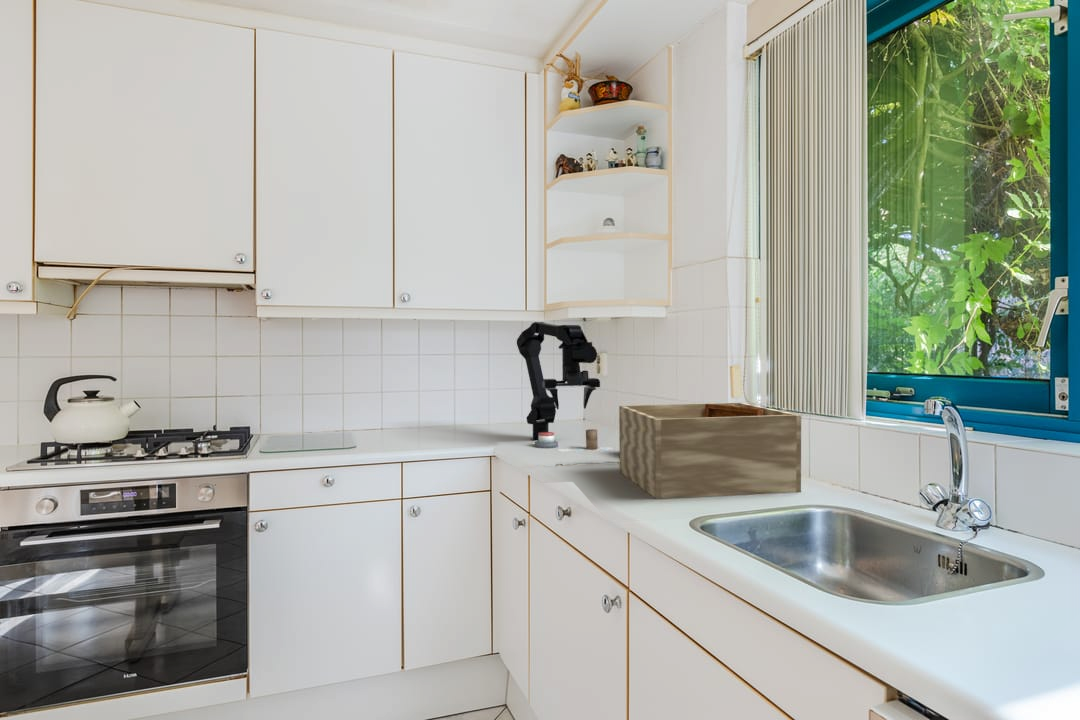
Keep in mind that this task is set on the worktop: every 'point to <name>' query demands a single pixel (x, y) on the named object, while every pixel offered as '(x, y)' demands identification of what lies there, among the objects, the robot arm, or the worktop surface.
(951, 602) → the worktop surface
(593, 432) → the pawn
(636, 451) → the crate
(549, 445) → the board
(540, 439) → the dome
